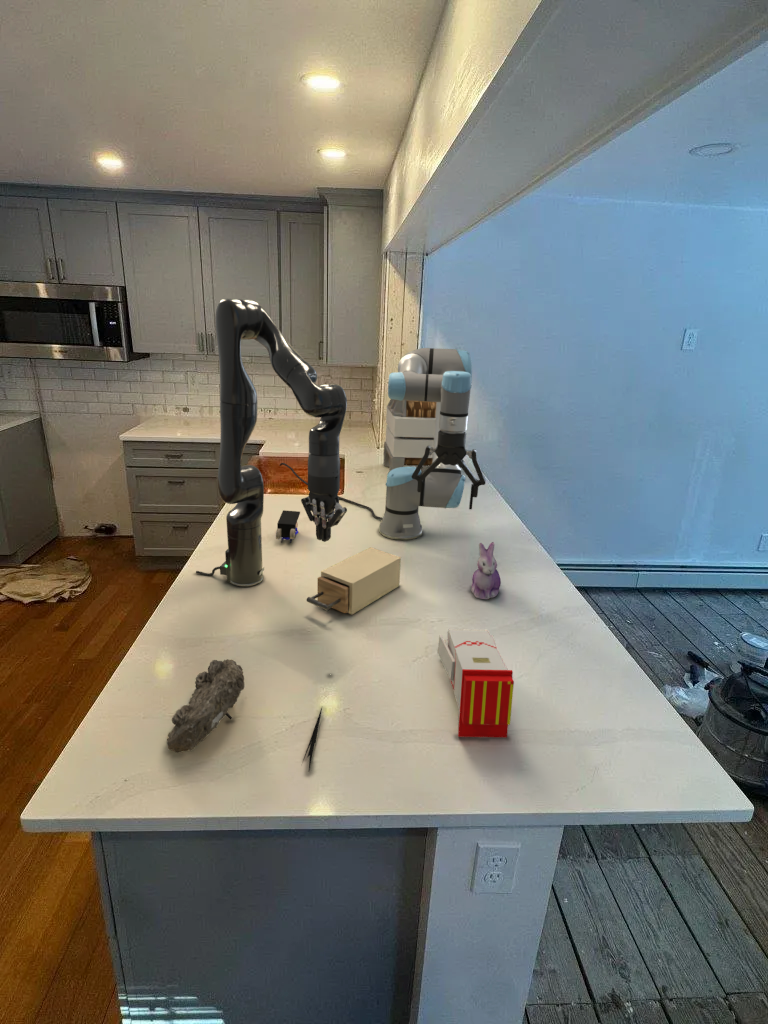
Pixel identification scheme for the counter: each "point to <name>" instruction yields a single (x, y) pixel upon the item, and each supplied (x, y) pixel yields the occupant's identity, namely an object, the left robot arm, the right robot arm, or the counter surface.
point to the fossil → (206, 705)
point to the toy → (478, 682)
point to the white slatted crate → (409, 432)
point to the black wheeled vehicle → (287, 525)
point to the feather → (313, 740)
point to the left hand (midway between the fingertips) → (323, 539)
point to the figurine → (486, 574)
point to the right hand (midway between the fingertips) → (446, 505)
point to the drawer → (331, 595)
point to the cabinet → (366, 576)
